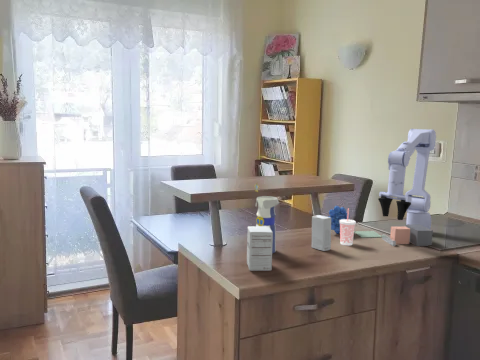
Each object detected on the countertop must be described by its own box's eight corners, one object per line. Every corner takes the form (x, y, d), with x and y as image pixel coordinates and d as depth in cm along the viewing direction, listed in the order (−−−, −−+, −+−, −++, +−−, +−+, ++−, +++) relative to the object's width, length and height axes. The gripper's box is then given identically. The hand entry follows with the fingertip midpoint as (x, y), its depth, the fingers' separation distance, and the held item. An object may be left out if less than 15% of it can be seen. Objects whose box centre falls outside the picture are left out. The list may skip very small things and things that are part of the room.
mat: (373, 231, 194) (374, 231, 194) (382, 237, 185) (382, 236, 185) (353, 231, 193) (353, 231, 193) (361, 237, 184) (361, 236, 184)
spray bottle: (267, 256, 157) (269, 184, 153) (248, 250, 163) (250, 181, 159) (281, 251, 163) (284, 182, 159) (263, 246, 169) (265, 179, 165)
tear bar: (384, 239, 182) (384, 234, 182) (395, 246, 173) (395, 241, 172) (381, 239, 182) (382, 234, 182) (393, 246, 172) (393, 241, 172)
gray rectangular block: (418, 238, 184) (419, 224, 183) (431, 245, 174) (432, 230, 173) (404, 238, 183) (405, 224, 183) (416, 245, 174) (417, 230, 173)
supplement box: (246, 263, 149) (247, 225, 147) (268, 263, 149) (269, 225, 148) (248, 271, 142) (249, 231, 140) (272, 270, 142) (273, 231, 140)
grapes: (333, 237, 183) (334, 208, 181) (323, 233, 189) (324, 205, 187) (355, 234, 188) (357, 206, 186) (345, 231, 194) (346, 203, 192)
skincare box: (331, 249, 166) (332, 217, 165) (323, 251, 163) (324, 219, 162) (318, 245, 171) (319, 214, 169) (310, 247, 168) (311, 215, 166)
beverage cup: (334, 242, 176) (336, 207, 174) (346, 240, 179) (348, 206, 177) (345, 246, 170) (347, 210, 168) (357, 244, 173) (360, 209, 171)
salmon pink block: (404, 241, 180) (405, 226, 179) (409, 244, 176) (410, 229, 176) (389, 241, 180) (391, 226, 179) (394, 244, 176) (395, 229, 175)
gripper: (374, 180, 177) (371, 214, 178) (403, 184, 164) (399, 221, 165) (388, 180, 180) (384, 214, 181) (417, 185, 167) (413, 221, 168)
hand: (392, 218), depth 173 cm, fingers open, 7 cm apart
